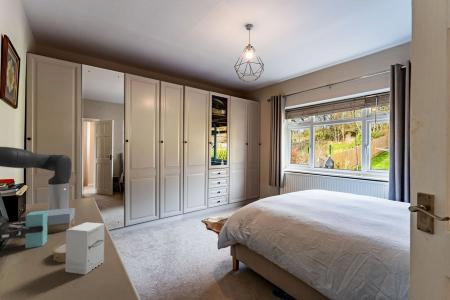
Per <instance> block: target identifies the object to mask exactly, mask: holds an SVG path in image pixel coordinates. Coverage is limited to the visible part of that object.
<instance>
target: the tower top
mask: <svg viewBox="0 0 450 300" xmlns="http://www.w3.org/2000/svg"><path fill="white" fill-rule="evenodd" d="M46 211H48V213H47V221H48V225H53V224H62V223H70V222H71V220H72V219H73V218H74V216H75V217H76V208H75V207H69V208H67V209H56V210H48V209H47V210H46Z"/></svg>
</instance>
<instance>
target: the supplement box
mask: <svg viewBox="0 0 450 300" xmlns="http://www.w3.org/2000/svg"><path fill="white" fill-rule="evenodd" d="M65 242H66V262H65V268H64V269H65V273H71V274H77V273H78V274H79V275H88V273H90V272H92V271H93V270H94V269H96V268H97V267H99V266H101V265H102V264H103V263H105V223H102V222H87V221H86V222H83V223H80V224H78V225H74V226H72V228H70V229H67V230H66V231H65ZM101 263H102V264H101ZM98 265H99V266H98ZM95 267H96V268H95ZM92 269H93V270H92Z"/></svg>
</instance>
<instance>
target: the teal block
mask: <svg viewBox="0 0 450 300" xmlns="http://www.w3.org/2000/svg"><path fill="white" fill-rule="evenodd" d="M47 213H48V211H47V210H41V211H40V210H39V211H38V210H36V211H31V212H29V213H27V214H26V215H25V221H26V227H34V226H43V231H42V232H38V233H30V234H28V235H25V244H24V246H25V249H29V248H30V249H31V248H38V247H43V246H44V245H45V244H46V243H47V241H48V233H47Z"/></svg>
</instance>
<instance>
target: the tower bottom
mask: <svg viewBox="0 0 450 300" xmlns="http://www.w3.org/2000/svg"><path fill="white" fill-rule="evenodd" d="M75 224H76V215H75V216H74V218H73V219H72V220H71V222H70V223H62V224H53V225H48V227H47V234H50V233H59V232H66V230H67V229H70V228H72V227H74V226H75Z"/></svg>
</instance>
